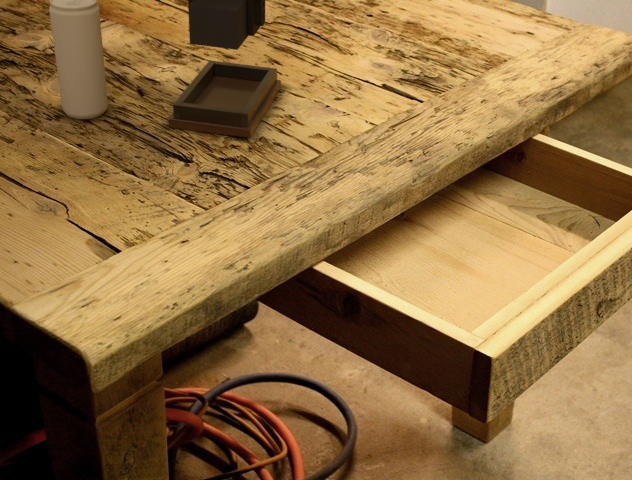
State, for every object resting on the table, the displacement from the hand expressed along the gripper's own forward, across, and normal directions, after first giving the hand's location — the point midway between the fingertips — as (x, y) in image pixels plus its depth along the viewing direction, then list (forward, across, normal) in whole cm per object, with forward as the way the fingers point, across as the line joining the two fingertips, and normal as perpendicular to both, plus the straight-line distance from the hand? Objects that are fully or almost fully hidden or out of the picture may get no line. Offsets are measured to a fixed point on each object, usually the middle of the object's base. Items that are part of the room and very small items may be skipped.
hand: (227, 26), depth 97 cm
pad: (0, 0, 0) cm, 0 cm away
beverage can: (+9, -14, -6) cm, 18 cm away
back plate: (+9, 0, 0) cm, 9 cm away
